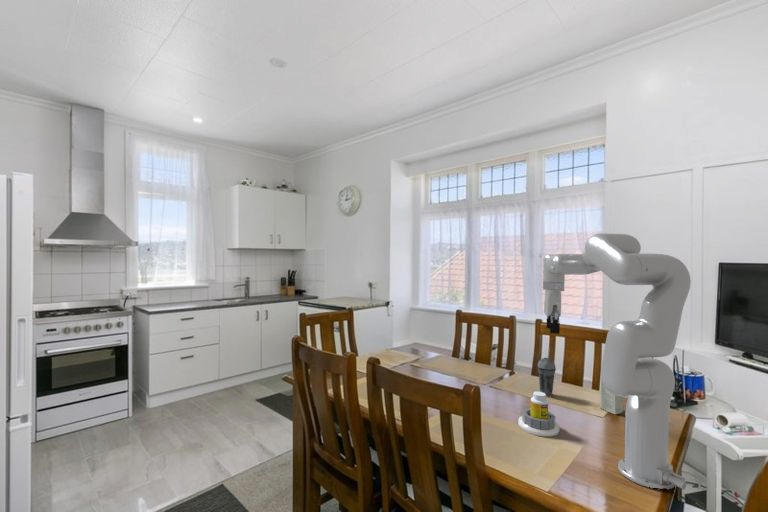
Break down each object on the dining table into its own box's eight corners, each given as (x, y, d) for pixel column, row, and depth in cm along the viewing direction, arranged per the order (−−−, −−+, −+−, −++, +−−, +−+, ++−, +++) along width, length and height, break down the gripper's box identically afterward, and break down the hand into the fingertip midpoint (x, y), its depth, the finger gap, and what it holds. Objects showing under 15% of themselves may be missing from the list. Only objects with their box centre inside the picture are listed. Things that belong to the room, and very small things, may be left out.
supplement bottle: (541, 428, 121) (542, 397, 121) (526, 421, 126) (527, 392, 126) (551, 424, 124) (551, 394, 124) (536, 418, 129) (537, 389, 129)
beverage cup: (533, 392, 158) (533, 346, 158) (546, 390, 160) (547, 345, 160) (545, 398, 151) (546, 350, 151) (559, 397, 153) (560, 349, 153)
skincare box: (623, 413, 138) (623, 381, 138) (615, 415, 136) (615, 382, 136) (607, 406, 144) (607, 375, 144) (599, 408, 142) (599, 377, 142)
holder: (567, 431, 123) (568, 418, 123) (541, 440, 117) (541, 426, 117) (535, 416, 134) (535, 403, 134) (510, 423, 128) (510, 410, 128)
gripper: (540, 284, 150) (539, 326, 150) (545, 288, 133) (545, 334, 133) (560, 285, 147) (559, 327, 147) (568, 288, 131) (567, 336, 131)
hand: (552, 330), depth 140 cm, fingers open, 9 cm apart
